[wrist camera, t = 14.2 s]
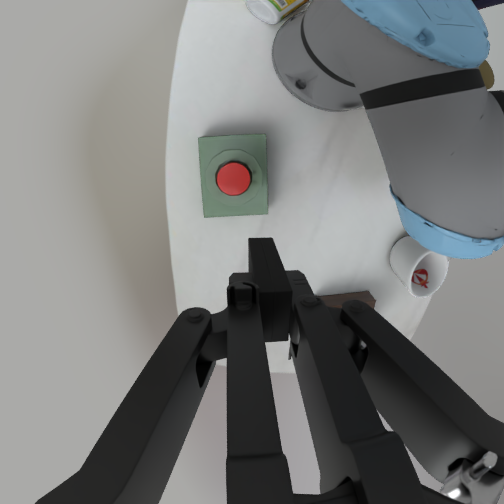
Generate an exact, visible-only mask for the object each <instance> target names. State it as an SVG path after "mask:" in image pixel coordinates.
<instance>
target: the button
mask: <svg viewBox="0 0 504 504" xmlns="http://www.w3.org/2000/svg"><path fill="white" fill-rule="evenodd" d="M217 183H218V186H219V188H220V189H221V190H222V191H223V192H224V193H226V194H228V195H239V194H241V193H243V192H244V191H245V190H246V189H247V188H248V186H249V183H250V175H249V172H248V170H247V168H246V167H245V166H244V165H242V164H240V163H237V162H230V163H227V164H225V165H224V166H223V167H222V168H221V169H220V171H219V173H218V175H217Z"/></svg>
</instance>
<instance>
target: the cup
mask: <svg viewBox="0 0 504 504" xmlns="http://www.w3.org/2000/svg"><path fill="white" fill-rule="evenodd" d="M451 258H452V257H447V256H444V255H441V254H438V253H435V252H433V251H431V250H428V249H426V248H425V247H423V246H422V245H420V243H419V242H418V241H416V240H415V239H413V238H412V237H411V236H407V237H404V238H402V239H400V240H399V241H397V242H396V244H395V245H394V246H393V248H392V250H391V253H390V265H391V267H392V269H393V271H394V272H395V274H396V275H397V276H398V278H399V279H400V280H401V282H402V283H403V284H404V286H405V287H406V288H407V290H408V291H409V292H410V294H411V295H413V296H414V297H416V298H425V297H428V296H430V295H432V294H433V293H434V292H436V291H437V290H438V289H439V287H440V286H441V284H442V283H443V282H444V280H445V278H446V275H447V272H448V261H449V260H450V259H451Z"/></svg>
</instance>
